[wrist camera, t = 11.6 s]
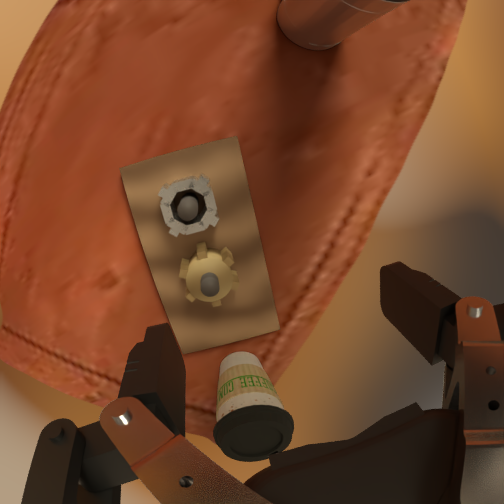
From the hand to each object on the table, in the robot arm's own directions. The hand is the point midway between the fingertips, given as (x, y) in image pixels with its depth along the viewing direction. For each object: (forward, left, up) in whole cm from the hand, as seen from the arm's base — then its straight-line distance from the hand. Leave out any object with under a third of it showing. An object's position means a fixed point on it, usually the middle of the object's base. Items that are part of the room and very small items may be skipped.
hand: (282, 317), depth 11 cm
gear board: (+6, -4, -29) cm, 29 cm away
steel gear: (-1, -4, -27) cm, 27 cm away
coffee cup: (+25, -4, -29) cm, 38 cm away
